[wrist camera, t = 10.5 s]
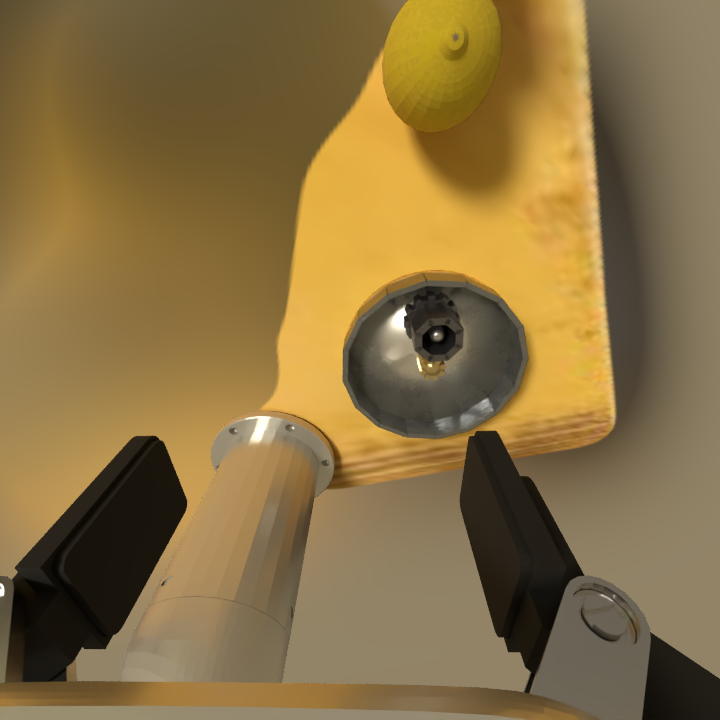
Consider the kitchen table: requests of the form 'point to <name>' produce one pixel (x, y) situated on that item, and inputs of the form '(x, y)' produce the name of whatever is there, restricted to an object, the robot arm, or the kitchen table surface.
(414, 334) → the gear
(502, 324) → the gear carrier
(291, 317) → the kitchen table surface
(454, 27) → the lemon
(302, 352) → the kitchen table surface
